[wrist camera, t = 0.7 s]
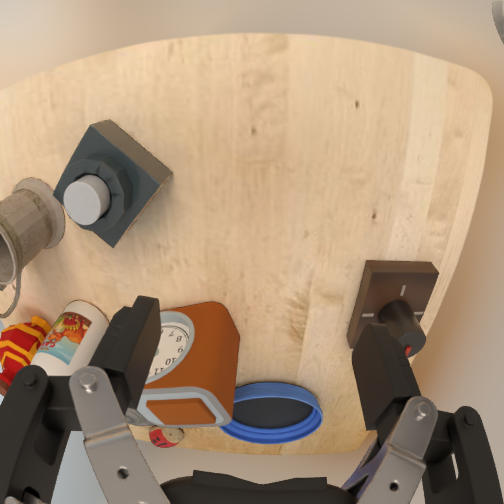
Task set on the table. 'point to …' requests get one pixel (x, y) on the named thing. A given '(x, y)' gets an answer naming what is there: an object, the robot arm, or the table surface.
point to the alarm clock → (193, 369)
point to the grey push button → (87, 199)
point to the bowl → (273, 413)
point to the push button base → (115, 177)
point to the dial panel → (391, 291)
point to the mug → (27, 229)
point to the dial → (403, 326)
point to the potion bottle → (20, 348)
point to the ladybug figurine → (165, 436)
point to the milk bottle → (71, 340)
